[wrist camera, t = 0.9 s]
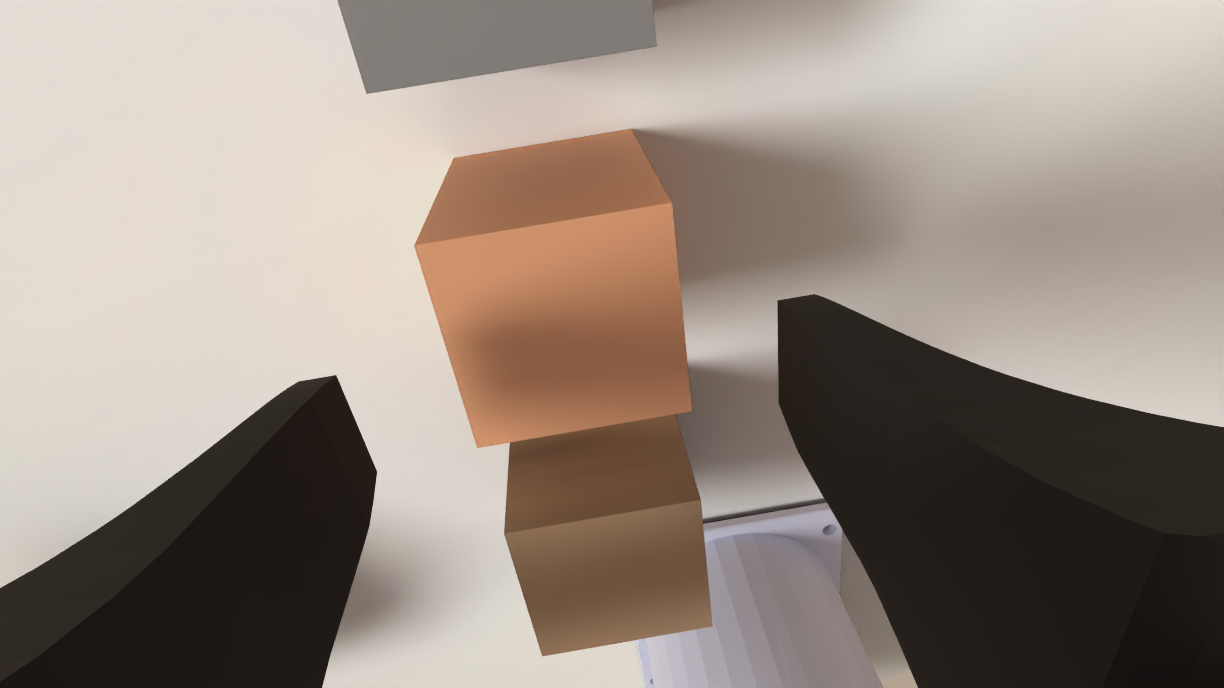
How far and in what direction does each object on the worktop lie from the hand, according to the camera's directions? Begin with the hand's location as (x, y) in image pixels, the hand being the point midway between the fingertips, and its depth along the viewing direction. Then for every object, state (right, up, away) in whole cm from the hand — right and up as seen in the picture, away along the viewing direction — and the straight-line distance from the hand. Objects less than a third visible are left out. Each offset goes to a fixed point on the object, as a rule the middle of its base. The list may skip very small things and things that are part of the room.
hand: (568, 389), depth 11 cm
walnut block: (0, -2, +10) cm, 11 cm away
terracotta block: (-1, +4, +7) cm, 8 cm away
